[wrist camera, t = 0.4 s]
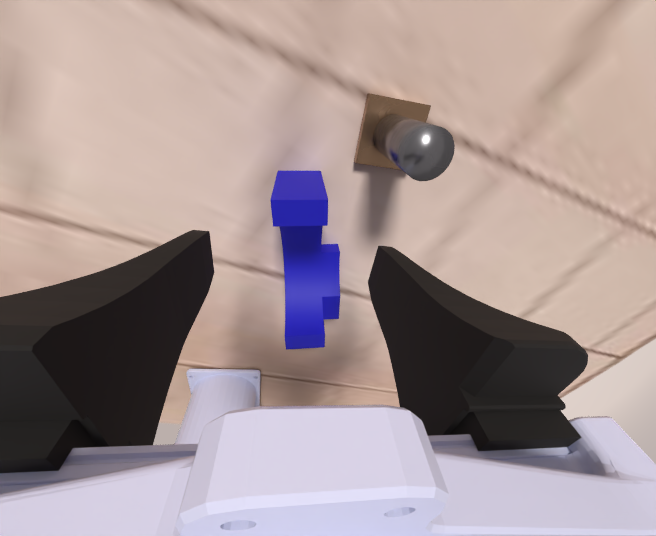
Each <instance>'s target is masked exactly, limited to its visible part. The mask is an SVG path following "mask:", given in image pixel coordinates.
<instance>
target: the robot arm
mask: <svg viewBox="0 0 656 536" xmlns="http://www.w3.org/2000/svg"><path fill="white" fill-rule="evenodd" d="M213 275H214V267H213V259H212V250H211V242H210V233H209V231H199V230H192V231H189V232H187V233H185V234H183V235H181V236H179V237H177V238H175V239H173V240H171V241H169V242H167V243H165V244H163V245H161V246H159V247H157V248H155V249H153V250H151V251H149V252H147V253H144V254H142V255H140V256H138V257H136V258H133V259H131V260H129V261H126V262H124V263H121V264H119V265H116V266H114V267H111V268H108V269H105V270H102V271H100V272H97V273H94V274H91V275H87V276H84V277H80V278H77V279H73V280H70V281H67V282H63V283H60V284H56V285H52V286H48V287H44V288H40V289H36V290H32V291H27V292H23V293H18V294H14V295H9V296H4V297H0V536H656V464H655V463H654V462H653V461H652V460H651V459H650V458H649V457H648V456H647V455H646V454H645V452H643V450H642V449H641V448H640V447H639V446H638V445H637V444H636V443H635V442H634V441H633V440H632V439H631V438H630V437H629V436H628V435H627V433H626V432H625V431H624V430H623V429H622V428H621V427H620V426H619V425H618V424H617V423H616V422H615V421H614V420H613V419H612V418H611V417H607V416H604V417H603V416H602V417H578V418H574V419H572V420H569V421H568V420H567V418H566V417H565V416H564V415H563V413H562V412H561V411H560V410H563V409H565V404H564V402H563V401H562V400H561V399H560V398H559V397H558V394H559V393H560V392H561V391H563V390H564V389H565V388H566V387H567V386H568V385H569V384H571V383H572V382H573V381H574V380H575V379H576V378H577V377H578V376H579V375H580V374H581V373H582V372H583V371H584V369H585V367H586V365H587V362H588V354H587V353H586V351H585V350H584V349H583V348H582V347H581V346H580V345H579V344H578V343H577V342H576V341H575V340H574V339H572V338H571V337H570V336H569V335H568V334H566V333H564V332H562V331H558V330H555V329H552V328H549V327H546V326H542V325H539V324H536V323H533V322H530V321H527V320H524V319H521V318H518V317H516V316H513V315H510V314H508V313H505V312H503V311H500V310H498V309H495V308H493V307H491V306H488V305H486V304H484V303H482V302H480V301H477V300H475V299H473V298H471V297H469V296H467V295H465V294H463V293H462V292H460V291H458V290H456V289H454V288H452V287H451V286H449V285H447V284H446V283H444V282H442V281H441V280H439V279H438V278H436V277H435V276H433V275H432V274H430V273H429V272H427V271H426V270H424V269H423V268H421V267H420V266H419V265H417V264H416V263H414V262H413V261H412V260H410V259H409V258H408V257H406V256H405V255H403V254H402V253H401V252H399V251H398V250H396V249H394V248H393V247H387V246H378V249H377V253H376V256H375V260H374V263H373V267H372V270H371V274H370V277H369V280H368V285H369V291H370V296H371V300H372V303H373V306H374V309H375V312H376V315H377V318H378V321H379V323H380V326H381V329H382V332H383V335H384V338H385V340H386V344H387V347H388V350H389V355H390V359H391V363H392V368H393V372H394V377H395V382H396V387H397V392H398V398H399V403H400V407H395V406H388V405H331V406H260V374H261V372H260V371H259V370H247V369H188V371H187V378H188V382H189V387H190V391H191V398H190V401H189V404H188V407H187V410H186V413H185V415H184V418H183V421H182V424H181V427H180V430H179V433H178V436H177V438H176V441H175V444H174V445H153V442H154V438H155V434H156V430H157V427H158V423H159V420H160V416H161V413H162V410H163V406H164V403H165V399H166V396H167V393H168V389H169V386H170V383H171V380H172V377H173V374H174V371H175V368H176V365H177V362H178V359H179V356H180V353H181V350H182V347H183V345H184V342H185V340H186V338H187V335H188V333H189V331H190V329H191V327H192V325H193V323H194V321H195V319H196V317H197V315H198V313H199V311H200V309H201V307H202V304H203V302H204V300H205V298H206V296H207V294H208V291H209V288H210V285H211V282H212V278H213Z"/></svg>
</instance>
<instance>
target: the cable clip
mask: <svg viewBox="0 0 656 536" xmlns="http://www.w3.org/2000/svg"><path fill="white" fill-rule="evenodd" d="M271 209H272V218H273V226H280V231H281V237H282V245H283V256H284V271H285V343H286V349H302V348H319V347H325V331H324V320H323V319H339V305H340V284H339V257H340V251H339V247H338V244H323V245H321V239H322V226H327V222H328V197H327V194H326V190H325V186H324V182H323V178H322V174H321V171H278V172H277V176H276V180H275V185H274V189H273V193H272V197H271Z"/></svg>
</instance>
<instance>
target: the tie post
mask: <svg viewBox="0 0 656 536" xmlns="http://www.w3.org/2000/svg"><path fill="white" fill-rule="evenodd" d="M430 107H431V106H430V105H425V104H420V103H415V102H410V101H405V100H400V99H394V98H389V97H384V96H379V95H374V94H367V99H366V104H365V109H364V114H363V119H362V124H361V129H360V134H359V139H358V144H357V148H356V153H355V158H354V162H355V163H359V164H365V165H372V166H379V167H385V168H392V169H399V170H403V171H404V172H405V173H406V174H408V175H409V176H410V177H411V178H413V179H415V180H418V181H428V180H432V179H434V178H436V177H438V176H439V175H440V174H442V173H443V172H444V171H445V170H446V168H447V167H448V166H449V164H450V162H451V160H452V158H453V154H454V141H453V138H452V136H451V134H450V133H449V132H448V131H447V130H446V129H444V128H442V127H439V126H435V125H432V124H428V123H426V120H427V117H428V114H429V111H430Z"/></svg>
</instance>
